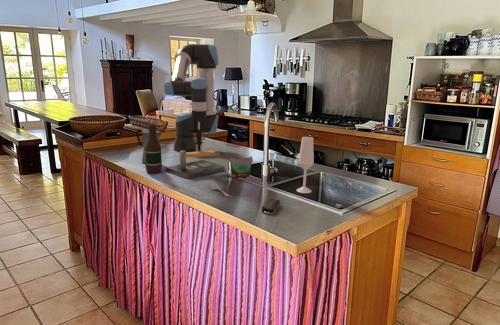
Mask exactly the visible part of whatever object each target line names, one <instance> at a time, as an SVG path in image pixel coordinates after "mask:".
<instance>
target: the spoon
mask: <svg viewBox="0 0 500 325" xmlns="http://www.w3.org/2000/svg"><path fill="white" fill-rule="evenodd" d="M213 188H214V189H213ZM217 188H218V189H217ZM210 190H214V191H217V190H219V191H220V192H221V193H222V194H223V195H224V196H225V197H226V196H230V195H229V194H228V193H227V192H226V191H224V190H222V188H221V187H220V186H219V185H217V184H214V183H212V184H211V185H210Z"/></svg>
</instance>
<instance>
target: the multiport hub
mask: <svg viewBox="0 0 500 325" xmlns="http://www.w3.org/2000/svg"><path fill="white" fill-rule="evenodd" d="M279 204H281V202H280V200H279V199H274V198H269V199H268V200H267V201H266V202H265V204H264V205H263V206H262V207H261V213H262V212H264V211H266V212H270V213H273V212H274V211H275V209H276V208H277V206H278V205H279ZM279 206H280V205H279ZM277 209H278V208H277ZM275 212H276V211H275ZM275 212H274V213H275Z"/></svg>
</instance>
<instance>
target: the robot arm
mask: <svg viewBox="0 0 500 325" xmlns="http://www.w3.org/2000/svg"><path fill="white" fill-rule="evenodd" d="M217 48H218V47H217V46H216V45H214V44H204V43H203V44H201V43H189V44H188V43H187V44H186V45H184V46H182V47H180V48H179V49H178V50H177V52H176V53H175V55H174V59H173V60H174V65H173V68H172V69H173V70H172V73H171V76H170V80H166V81H164V85H163V90H164V92H163V93H164V94H165V95H166V96H172V97H175V96H176V97H191V102H190V104H189V105H190V106H191V107H190V108H191V112H189V111H188V112H183V113H182V112H181V113H178V114H176V115H175V122H174V123H175V140H174V143H173V147H172V148H173V150H174V151H175V152H180V151H186V152H200V151H203V150H202V148H203V147H202V146H203V144H204V142H203V141H202V134H208V135H209V134H210V135H211V134H216V133H217V128H218V121H219V115H218V114H217V111H216V110H215V109H214V108H215V107H214V106H215V105H214V104H215V96H214V95H215V94H214V93H215V90H214V88H215V87H214V83H215V82H214V78H215V77H214V75H215V73H214V72H215V70H216V69H217V66H219V55H218V49H217ZM191 65H194V66H195V65H196V69H197V70H198V71H199V74H198V76H199V78H197V77H193V78H192V79H191V81H189V80H186V79H187V74H188V69H189V67H190V66H191ZM195 134H196V138H195Z"/></svg>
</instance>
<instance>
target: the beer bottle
mask: <svg viewBox="0 0 500 325" xmlns="http://www.w3.org/2000/svg"><path fill="white" fill-rule="evenodd" d="M156 129H157V125H156V124H154V123H153V124H148V130H149V141H148V143H147V145H146V148H145V154H146V163H145V171H146V173H147V174H150V175H151V174H152V175H156V174H160V173H162V171H163V169H162V168H163V164H162V162H163V161H162V146H161V144H160V142H159V140H158V141H157V135H156Z"/></svg>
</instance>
